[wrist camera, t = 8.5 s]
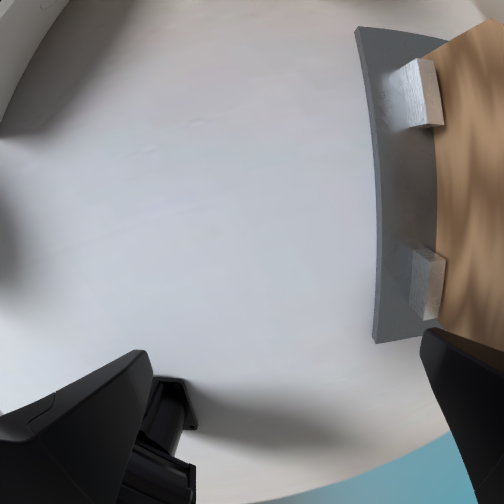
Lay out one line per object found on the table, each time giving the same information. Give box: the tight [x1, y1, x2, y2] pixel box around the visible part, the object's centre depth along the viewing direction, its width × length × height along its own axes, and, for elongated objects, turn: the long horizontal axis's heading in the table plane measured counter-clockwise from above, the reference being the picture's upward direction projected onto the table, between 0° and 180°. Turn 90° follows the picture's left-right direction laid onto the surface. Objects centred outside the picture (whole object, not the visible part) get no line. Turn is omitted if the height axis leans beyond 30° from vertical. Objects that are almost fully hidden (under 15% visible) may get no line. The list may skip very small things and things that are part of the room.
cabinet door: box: [421, 18, 504, 352], centre depth 13 cm, size 18×4×8 cm, turn 6°
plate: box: [354, 26, 449, 344], centre depth 16 cm, size 22×11×4 cm, turn 6°
